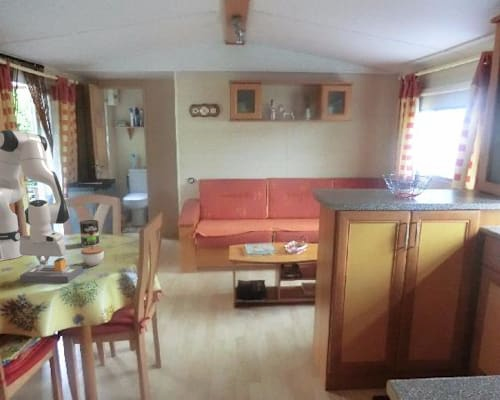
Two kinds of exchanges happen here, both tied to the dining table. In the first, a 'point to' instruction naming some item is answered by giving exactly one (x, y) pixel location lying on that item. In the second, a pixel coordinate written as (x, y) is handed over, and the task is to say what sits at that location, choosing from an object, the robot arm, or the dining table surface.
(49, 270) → the panel
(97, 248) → the lidded jar
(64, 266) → the lever
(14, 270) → the dining table surface
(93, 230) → the coffee can
